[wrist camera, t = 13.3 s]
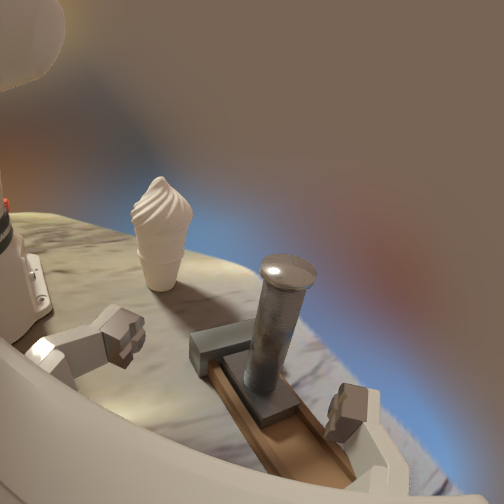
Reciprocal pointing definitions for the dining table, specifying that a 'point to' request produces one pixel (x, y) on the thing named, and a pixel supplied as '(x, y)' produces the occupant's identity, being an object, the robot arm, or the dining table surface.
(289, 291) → the carriage
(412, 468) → the dining table surface
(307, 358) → the dining table surface
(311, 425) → the rail
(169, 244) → the soft serve ice cream cone
